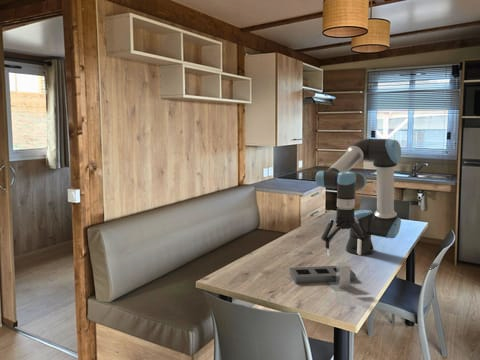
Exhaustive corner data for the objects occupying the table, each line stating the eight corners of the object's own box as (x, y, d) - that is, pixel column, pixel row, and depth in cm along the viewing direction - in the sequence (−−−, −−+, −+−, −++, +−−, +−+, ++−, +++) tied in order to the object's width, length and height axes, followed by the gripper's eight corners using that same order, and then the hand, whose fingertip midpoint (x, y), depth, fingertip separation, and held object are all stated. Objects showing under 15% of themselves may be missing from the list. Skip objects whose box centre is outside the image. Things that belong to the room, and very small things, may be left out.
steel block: (345, 283, 186) (346, 262, 185) (349, 287, 182) (350, 266, 180) (335, 284, 186) (336, 262, 184) (339, 288, 181) (340, 266, 180)
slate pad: (349, 283, 189) (349, 281, 189) (357, 292, 180) (357, 290, 179) (327, 284, 188) (328, 282, 188) (335, 293, 178) (335, 291, 178)
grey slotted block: (345, 273, 202) (346, 265, 201) (355, 282, 190) (355, 274, 189) (289, 275, 198) (289, 267, 198) (295, 285, 187) (295, 277, 186)
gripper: (320, 210, 173) (319, 259, 177) (377, 208, 176) (374, 256, 179) (314, 206, 181) (313, 253, 184) (369, 204, 183) (367, 250, 187)
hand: (344, 254), depth 182 cm, fingers open, 13 cm apart
